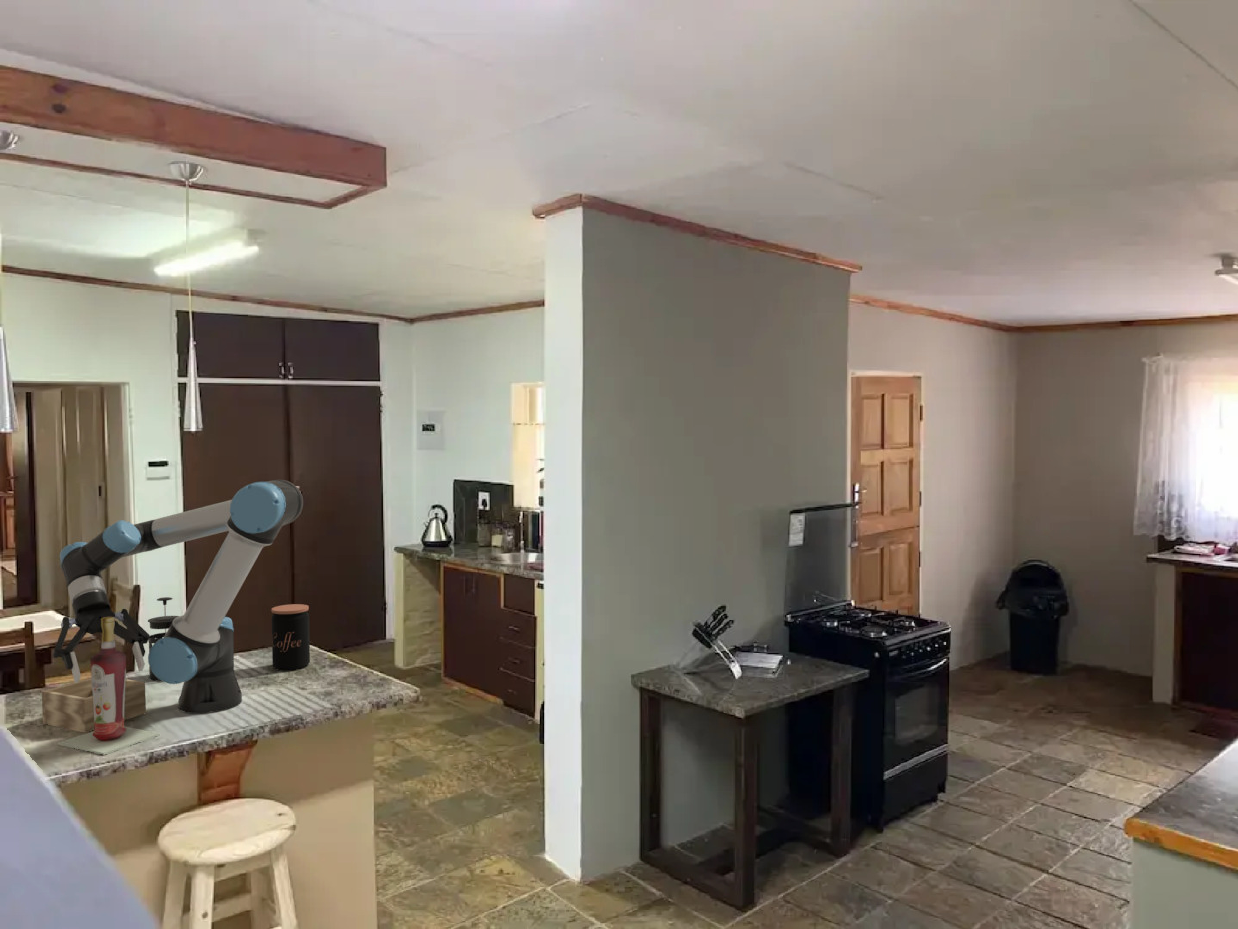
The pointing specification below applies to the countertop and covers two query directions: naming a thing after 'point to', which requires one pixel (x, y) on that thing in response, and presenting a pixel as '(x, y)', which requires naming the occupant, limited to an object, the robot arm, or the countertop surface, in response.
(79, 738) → the mat
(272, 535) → the robot arm
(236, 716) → the countertop surface
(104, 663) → the liquor
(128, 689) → the crate
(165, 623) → the french press
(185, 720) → the countertop surface
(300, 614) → the coffee jar
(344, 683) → the countertop surface
